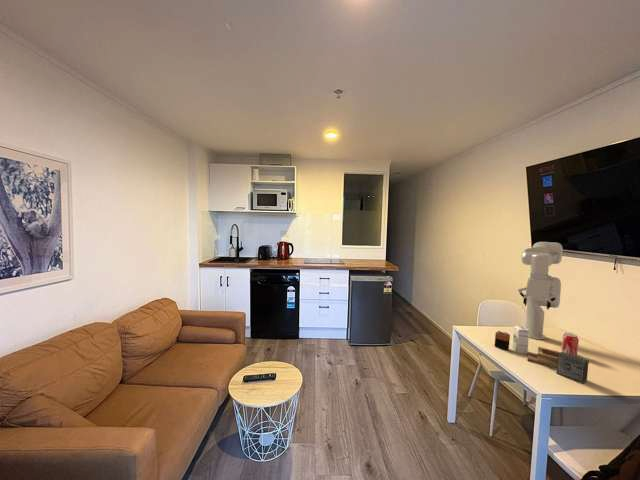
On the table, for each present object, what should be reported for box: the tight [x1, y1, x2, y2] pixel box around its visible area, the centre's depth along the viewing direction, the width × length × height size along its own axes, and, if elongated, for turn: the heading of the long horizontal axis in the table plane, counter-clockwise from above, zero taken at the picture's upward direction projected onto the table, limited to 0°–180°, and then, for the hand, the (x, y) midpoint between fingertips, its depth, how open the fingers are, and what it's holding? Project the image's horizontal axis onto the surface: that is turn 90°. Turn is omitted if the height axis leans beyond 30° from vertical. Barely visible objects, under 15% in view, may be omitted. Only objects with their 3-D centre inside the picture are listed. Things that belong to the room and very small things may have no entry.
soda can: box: [561, 332, 580, 356], centre depth 161 cm, size 7×7×12 cm
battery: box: [494, 330, 511, 351], centre depth 167 cm, size 4×7×10 cm, turn 42°
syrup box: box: [512, 325, 530, 355], centre depth 163 cm, size 6×6×14 cm
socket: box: [527, 346, 562, 370], centre depth 150 cm, size 11×20×6 cm, turn 51°
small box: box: [555, 351, 589, 384], centre depth 136 cm, size 11×6×10 cm, turn 33°
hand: (536, 306), depth 150 cm, fingers open, 9 cm apart
